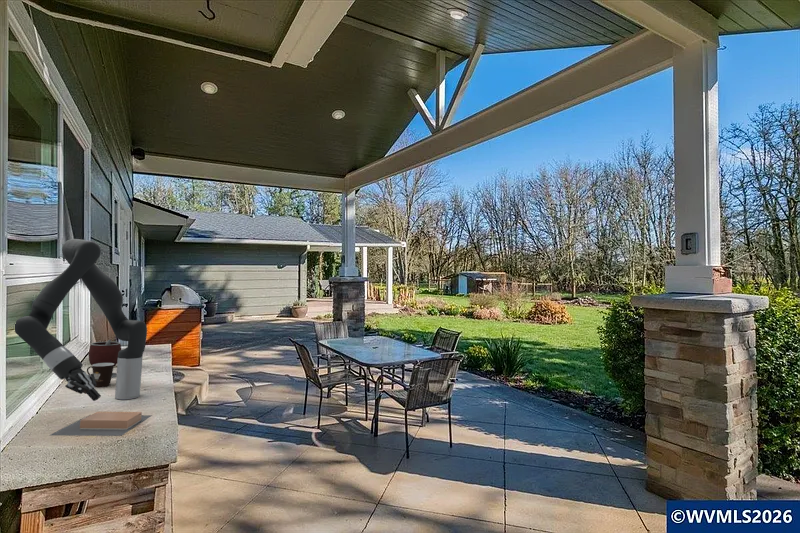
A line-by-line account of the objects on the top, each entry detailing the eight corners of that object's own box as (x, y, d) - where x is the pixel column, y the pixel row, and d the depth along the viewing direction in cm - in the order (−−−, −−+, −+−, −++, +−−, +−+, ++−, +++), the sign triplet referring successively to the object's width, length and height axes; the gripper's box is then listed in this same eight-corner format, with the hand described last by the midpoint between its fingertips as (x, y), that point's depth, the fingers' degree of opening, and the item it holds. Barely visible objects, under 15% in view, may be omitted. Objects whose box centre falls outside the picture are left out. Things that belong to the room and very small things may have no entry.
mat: (90, 416, 161) (90, 414, 162) (152, 416, 164) (152, 415, 164) (48, 436, 140) (49, 435, 140) (121, 437, 142) (121, 435, 142)
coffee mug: (116, 385, 207) (117, 364, 207) (96, 388, 199) (97, 367, 200) (103, 381, 212) (105, 361, 213) (83, 385, 205) (85, 363, 206)
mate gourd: (84, 375, 224) (87, 336, 224) (116, 372, 233) (118, 335, 234) (90, 381, 212) (93, 340, 213) (123, 378, 222) (126, 338, 223)
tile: (97, 411, 156) (141, 412, 158) (97, 419, 156) (141, 420, 158) (80, 420, 146) (127, 420, 148) (79, 429, 146) (126, 429, 148)
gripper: (59, 358, 145) (95, 396, 146) (83, 352, 158) (116, 386, 159) (40, 374, 144) (77, 411, 145) (66, 366, 157) (100, 401, 158)
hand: (97, 398), depth 152 cm, fingers closed
